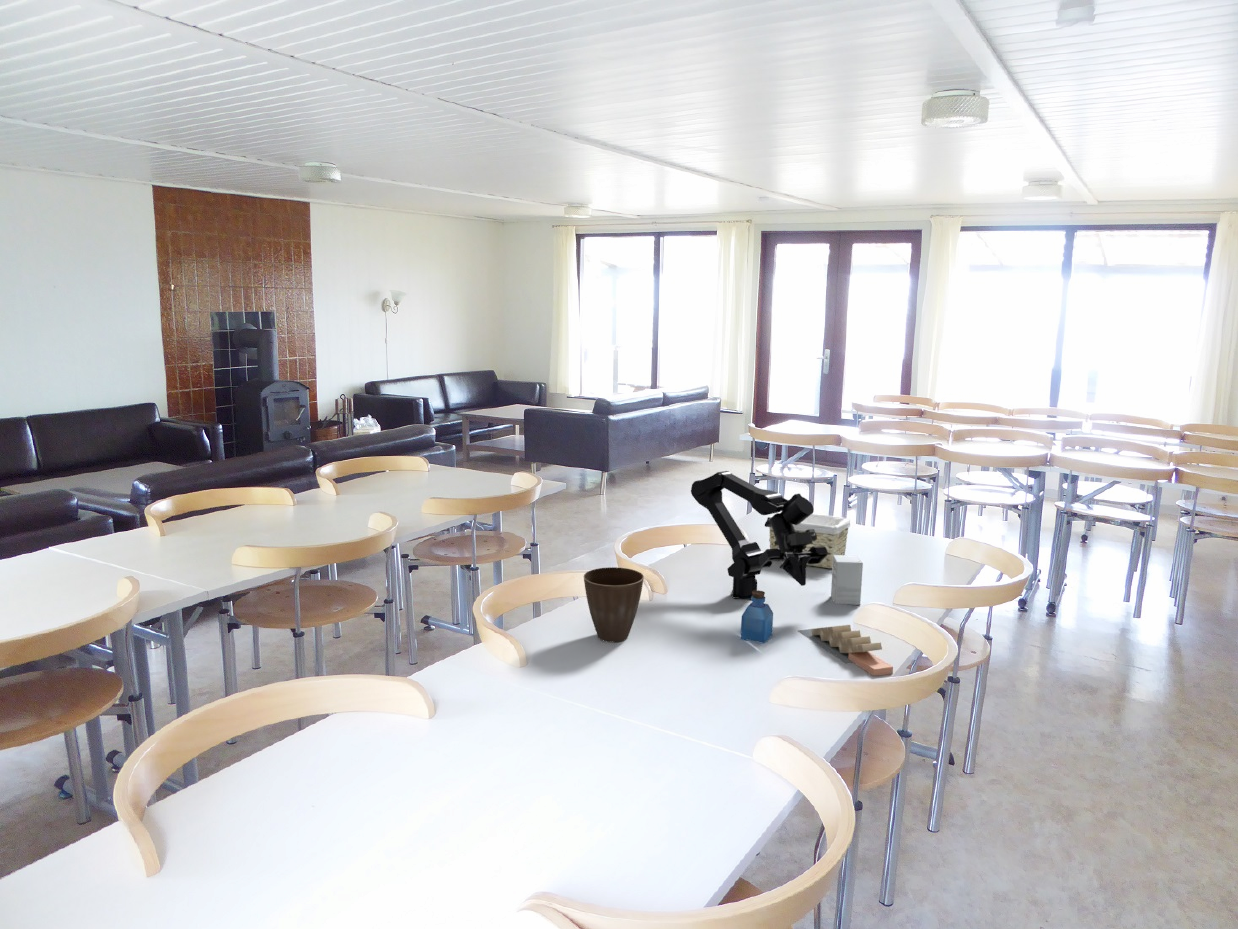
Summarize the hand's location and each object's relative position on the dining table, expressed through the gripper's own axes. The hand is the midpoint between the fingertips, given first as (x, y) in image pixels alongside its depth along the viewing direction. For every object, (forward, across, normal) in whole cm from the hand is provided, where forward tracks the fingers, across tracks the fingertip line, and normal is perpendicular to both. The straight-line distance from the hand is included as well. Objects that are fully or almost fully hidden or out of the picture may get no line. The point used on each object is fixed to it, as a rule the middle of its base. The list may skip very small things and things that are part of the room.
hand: (803, 585), depth 223 cm
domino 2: (+16, 0, -3) cm, 16 cm away
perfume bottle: (+12, -16, +4) cm, 21 cm away
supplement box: (-1, +22, +15) cm, 27 cm away
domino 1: (+13, 0, 0) cm, 13 cm away
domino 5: (+24, -1, -12) cm, 27 cm away
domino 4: (+22, 0, -9) cm, 23 cm away
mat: (+19, 0, -4) cm, 19 cm away
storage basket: (-29, +36, +44) cm, 63 cm away
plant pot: (+4, -51, +13) cm, 53 cm away
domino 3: (+19, 0, -6) cm, 20 cm away
